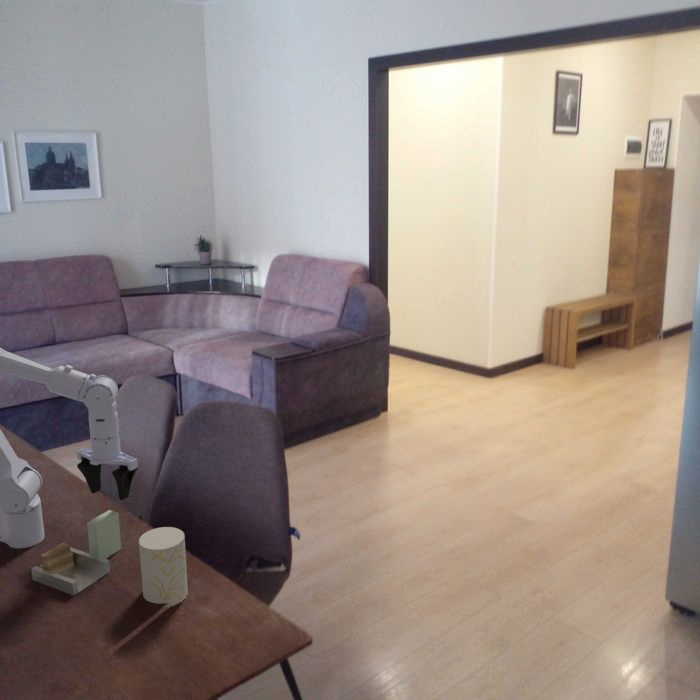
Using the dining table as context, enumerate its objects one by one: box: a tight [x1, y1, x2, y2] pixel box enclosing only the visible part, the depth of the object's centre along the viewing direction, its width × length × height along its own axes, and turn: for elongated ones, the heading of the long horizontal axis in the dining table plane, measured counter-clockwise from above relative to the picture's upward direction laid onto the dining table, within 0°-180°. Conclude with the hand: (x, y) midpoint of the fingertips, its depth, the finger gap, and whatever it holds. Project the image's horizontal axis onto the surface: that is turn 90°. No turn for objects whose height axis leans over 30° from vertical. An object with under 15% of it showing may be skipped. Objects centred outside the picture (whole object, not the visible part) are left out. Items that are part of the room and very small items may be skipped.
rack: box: [30, 546, 111, 596], centre depth 137 cm, size 11×9×4 cm
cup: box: [138, 526, 189, 609], centre depth 131 cm, size 8×8×12 cm
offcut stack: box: [38, 542, 74, 574], centre depth 138 cm, size 2×6×4 cm, turn 153°
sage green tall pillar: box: [86, 509, 122, 560], centre depth 143 cm, size 2×6×9 cm, turn 153°
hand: (110, 494), depth 150 cm, fingers open, 7 cm apart
